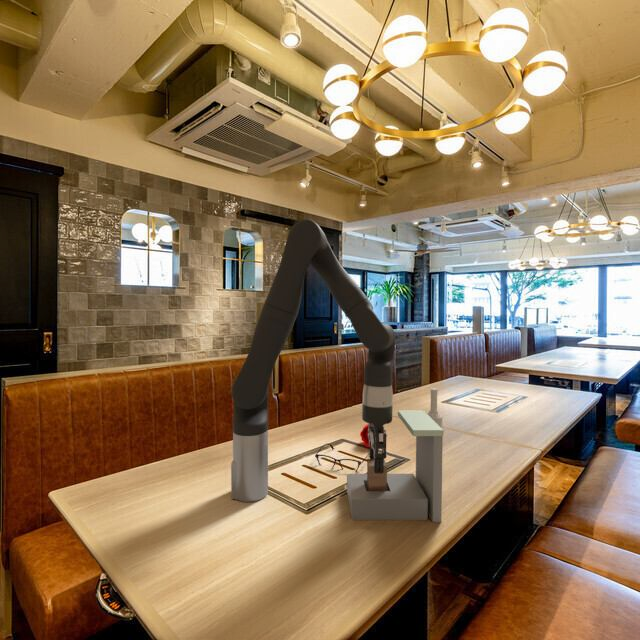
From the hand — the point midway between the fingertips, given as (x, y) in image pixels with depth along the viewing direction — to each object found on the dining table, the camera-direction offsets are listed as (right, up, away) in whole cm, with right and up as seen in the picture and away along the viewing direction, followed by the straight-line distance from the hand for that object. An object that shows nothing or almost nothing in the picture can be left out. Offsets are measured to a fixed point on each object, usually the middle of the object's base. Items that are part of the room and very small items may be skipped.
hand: (376, 465), depth 100 cm
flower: (+5, -9, +45) cm, 46 cm away
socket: (+2, -10, +1) cm, 10 cm away
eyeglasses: (-6, -10, +30) cm, 32 cm away
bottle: (+21, -10, +23) cm, 33 cm away
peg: (0, -9, +1) cm, 9 cm away
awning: (+11, -10, +1) cm, 15 cm away
